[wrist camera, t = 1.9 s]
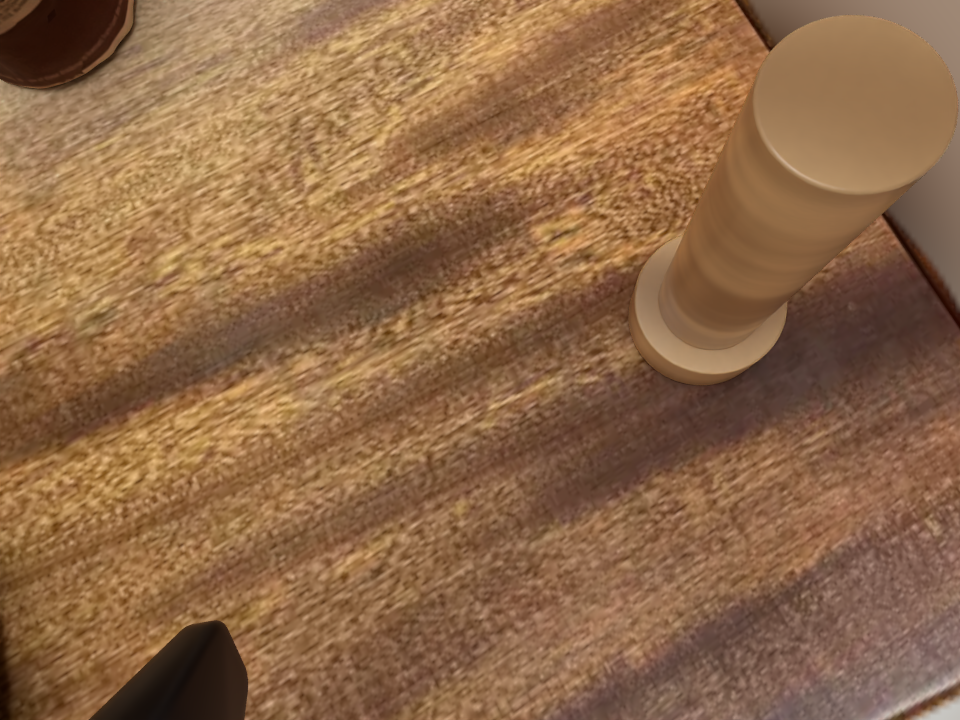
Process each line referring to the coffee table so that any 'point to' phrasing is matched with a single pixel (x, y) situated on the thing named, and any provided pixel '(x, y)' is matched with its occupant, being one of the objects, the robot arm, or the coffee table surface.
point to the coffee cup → (58, 38)
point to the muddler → (792, 190)
